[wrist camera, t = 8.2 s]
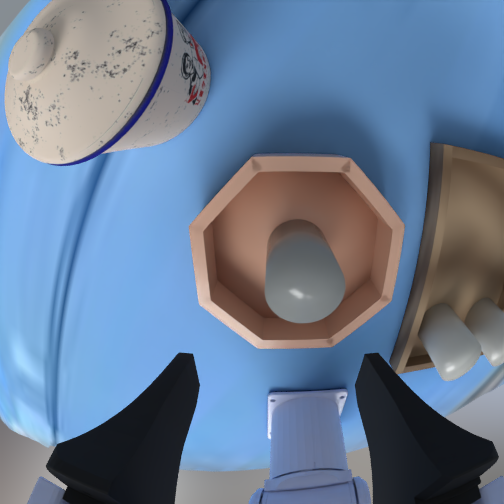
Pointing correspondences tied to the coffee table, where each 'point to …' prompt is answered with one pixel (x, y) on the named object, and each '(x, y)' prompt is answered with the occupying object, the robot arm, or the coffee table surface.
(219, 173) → the coffee table surface
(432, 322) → the light stone
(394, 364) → the tray
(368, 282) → the bowl
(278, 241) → the grey rounded cylinder
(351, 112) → the coffee table surface
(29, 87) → the teacup with lid
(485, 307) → the light stone
